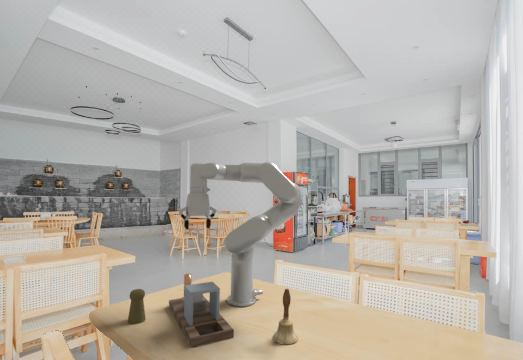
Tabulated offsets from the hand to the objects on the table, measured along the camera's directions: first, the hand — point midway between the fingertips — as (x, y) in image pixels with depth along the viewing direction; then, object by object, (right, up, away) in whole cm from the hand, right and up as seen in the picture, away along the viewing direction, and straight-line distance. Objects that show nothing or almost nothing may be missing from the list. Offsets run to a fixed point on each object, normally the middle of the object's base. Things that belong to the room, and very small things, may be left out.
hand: (197, 228), depth 133 cm
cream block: (+3, -27, -20) cm, 34 cm away
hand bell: (+37, -30, -36) cm, 60 cm away
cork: (-17, -30, -25) cm, 42 cm away
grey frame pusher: (+1, -27, -16) cm, 31 cm away
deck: (+5, -30, -24) cm, 39 cm away
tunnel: (+7, -27, -28) cm, 40 cm away
